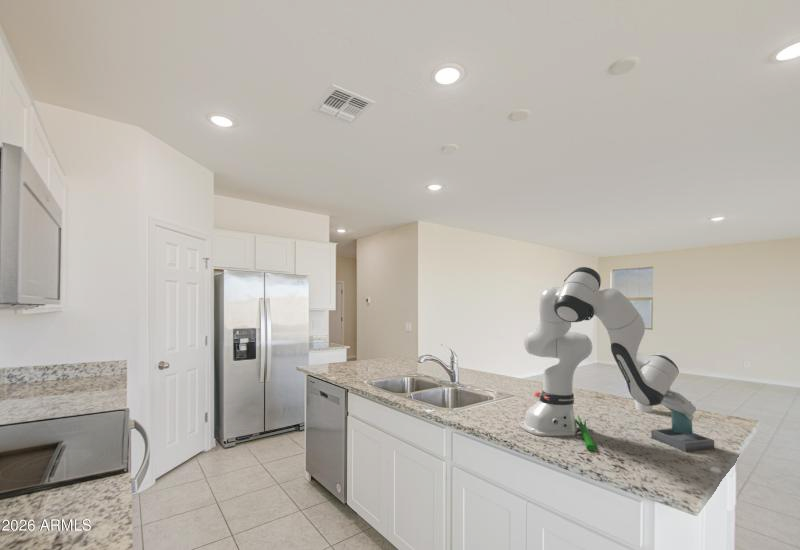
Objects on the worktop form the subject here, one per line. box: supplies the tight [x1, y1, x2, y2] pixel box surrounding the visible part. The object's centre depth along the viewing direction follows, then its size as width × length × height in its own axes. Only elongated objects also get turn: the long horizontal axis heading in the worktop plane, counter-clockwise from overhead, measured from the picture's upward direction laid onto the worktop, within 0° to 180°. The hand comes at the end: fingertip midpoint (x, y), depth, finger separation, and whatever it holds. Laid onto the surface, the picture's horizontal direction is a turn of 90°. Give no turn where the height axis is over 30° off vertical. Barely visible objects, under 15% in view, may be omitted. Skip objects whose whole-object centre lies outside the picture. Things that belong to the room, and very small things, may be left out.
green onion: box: [575, 414, 597, 452], centre depth 140 cm, size 5×3×30 cm
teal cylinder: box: [670, 400, 694, 434], centre depth 134 cm, size 6×6×11 cm
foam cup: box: [633, 398, 654, 413], centre depth 173 cm, size 10×9×13 cm
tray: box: [650, 427, 715, 453], centre depth 134 cm, size 13×13×3 cm
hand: (682, 414), depth 134 cm, fingers closed on teal cylinder, 6 cm apart
